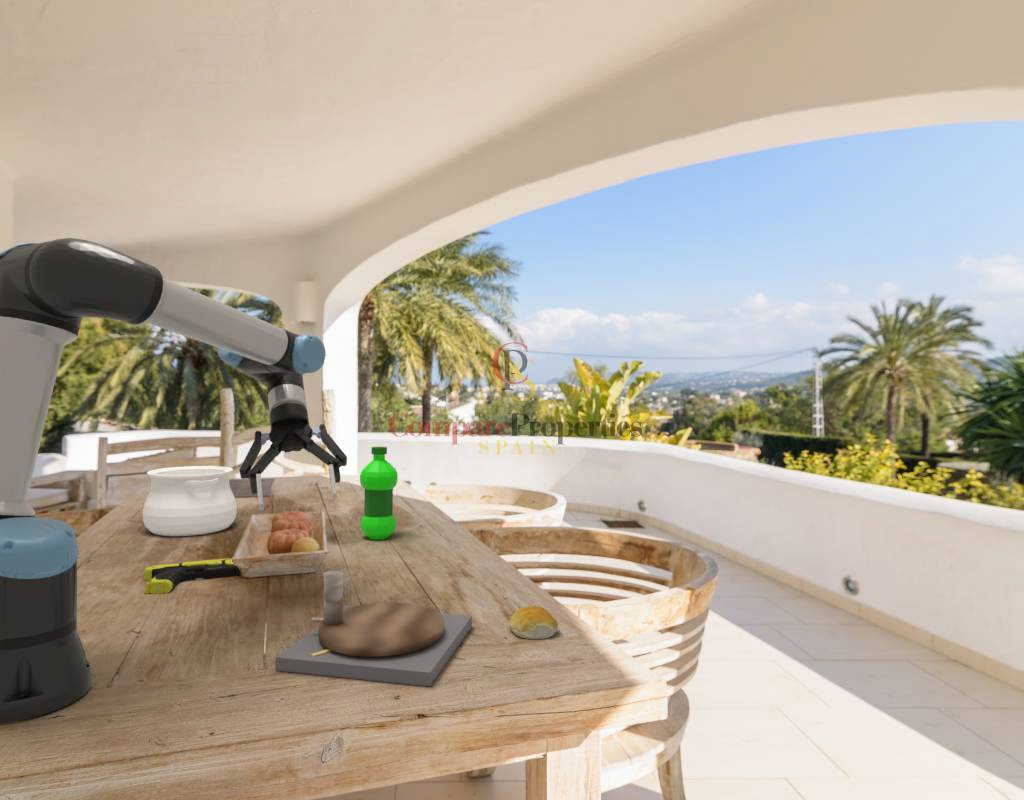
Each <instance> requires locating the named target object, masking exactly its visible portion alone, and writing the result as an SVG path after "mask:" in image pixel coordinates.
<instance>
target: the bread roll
mask: <svg viewBox="0 0 1024 800" xmlns="http://www.w3.org/2000/svg"><path fill="white" fill-rule="evenodd" d="M508 624H509V625H508V626H509V629H510V630H511V632H513V634H514V635H515V636H516V637H519V638H522V639H526V640H544V639H549V638H551V637H553V636H554V635H555V634H557V631H558V629H559V624H558V621H557V619H556V618H554V616H552V614H551V612H549V611H548V610H547V609H545V608H544V607H543V606H542V607H541V606H536V605H532V606H531V605H530V606H529V605H528V606H523V607H521V608H519V609H518V610H515V612H514V613H513V614H512V615H511V616H510V619H509V621H508Z"/></svg>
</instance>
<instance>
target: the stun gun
mask: <svg viewBox="0 0 1024 800" xmlns="http://www.w3.org/2000/svg"><path fill="white" fill-rule="evenodd" d="M232 559H233V558H230V557H229V558H228V557H227V558H219V559H218V558H217V559H206V560H196V561H195V560H194V561H185V562H179V563H168V564H167V563H166V564H158V565H157V564H156V565H154V564H153V565H152V566H151V565H150V566H148V567H145V569H144V570H143V579H144V581H147V582H146V583H145V590H144V591H145V593H146V595H148V594H151V595H155V594H158V595H159V594H168V593H170V592H171V591H172V589H174V588H175V587H176V586H177V584H179V583H181V582H184V581H188V580H194V579H204V580H208V579H217V578H228V577H237V576H241V569H240V570H239V568H238V567H237V566H235V565H234V563H233V562H232Z"/></svg>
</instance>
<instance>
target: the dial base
mask: <svg viewBox="0 0 1024 800" xmlns="http://www.w3.org/2000/svg"><path fill="white" fill-rule="evenodd" d="M353 606H354V605H349V604H347V605H346V604H345V605H343V609H346V608H349V607H353ZM439 613H440V614H441V615H442V616H443V618H444V633H443V635H442V637H441V638H440V639H439V640H438V641H436V642H435V643H433V644H431V645H429V646H427V647H425V648H422V649H420V650H416V651H413V652H409V653H404V654H399V655H391V656H378V657H366V656H353V655H347V654H342V653H338V652H335V651H332V650H330V649H328V648H326V647H325V646H323V645H322V644H321V643H320V641H319V624H318V625H317V626H316V627H314V628H313V629H311V630H310V631H309V632H307V633H306V634H305V635H304V636H302V637H300V638H299V639H298V640H297V641H295V642H294V643H293V644H292V645H290V646H288V647H287V648H286V649H285V650H283V651H282V652H280V653H279V654H278V655H277V656H275V671H277V672H286V673H287V672H288V673H296V674H304V675H314V676H325V677H334V678H335V677H336V678H343V679H353V680H354V679H355V680H361V681H362V680H363V681H373V682H384V683H392V684H401V685H403V684H404V685H412V686H420V687H431V686H432V685H433V684H434V681H435V680H436V679H437V677H438V676H439V674H440V673H441V671H443V669H444V667H445V666H446V664H447V663H448V662H449V660H450V659H451V657H452V656H453V654H454V653H455V652H456V650H457V649H458V648H459V646H461V643H462V642H463V641H464V639H465V638H466V636H467V635H468V633H469V632H470V630H471V629H472V628H473V615H470V614H469V615H468V614H467V615H466V614H457V613H456V614H455V613H446V612H444V613H443V612H439Z"/></svg>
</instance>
